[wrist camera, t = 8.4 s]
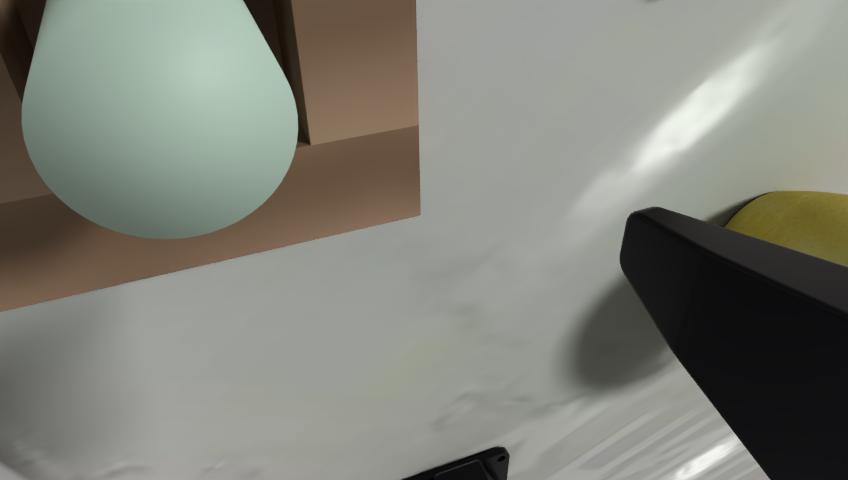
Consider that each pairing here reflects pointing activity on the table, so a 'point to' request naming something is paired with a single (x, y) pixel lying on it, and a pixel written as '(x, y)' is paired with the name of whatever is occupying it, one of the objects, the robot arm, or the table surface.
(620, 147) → the table surface
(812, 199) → the yellow bowl
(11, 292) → the walnut socket
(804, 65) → the table surface
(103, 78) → the sage peg
